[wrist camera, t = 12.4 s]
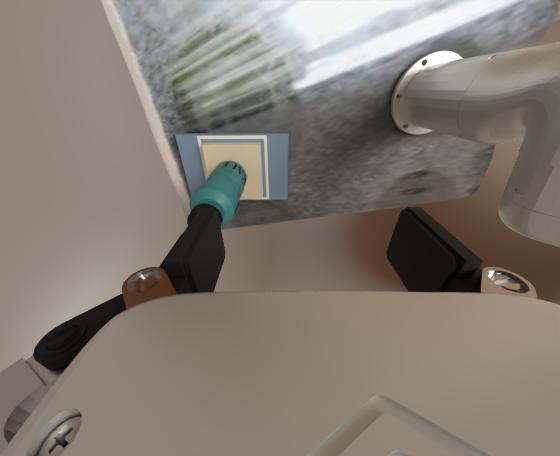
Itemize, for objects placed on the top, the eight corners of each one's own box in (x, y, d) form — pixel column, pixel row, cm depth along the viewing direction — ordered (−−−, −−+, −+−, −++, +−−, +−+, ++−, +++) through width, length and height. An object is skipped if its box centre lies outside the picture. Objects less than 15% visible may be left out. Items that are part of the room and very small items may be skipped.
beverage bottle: (220, 188, 45) (183, 248, 28) (213, 157, 41) (167, 203, 24) (250, 187, 45) (232, 246, 28) (246, 155, 41) (223, 201, 24)
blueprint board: (288, 132, 42) (288, 136, 39) (287, 197, 50) (287, 203, 47) (178, 133, 42) (170, 136, 39) (194, 197, 50) (188, 204, 47)
